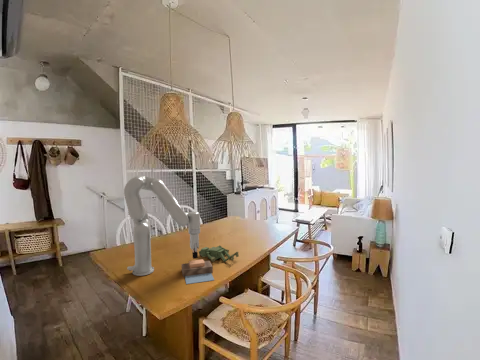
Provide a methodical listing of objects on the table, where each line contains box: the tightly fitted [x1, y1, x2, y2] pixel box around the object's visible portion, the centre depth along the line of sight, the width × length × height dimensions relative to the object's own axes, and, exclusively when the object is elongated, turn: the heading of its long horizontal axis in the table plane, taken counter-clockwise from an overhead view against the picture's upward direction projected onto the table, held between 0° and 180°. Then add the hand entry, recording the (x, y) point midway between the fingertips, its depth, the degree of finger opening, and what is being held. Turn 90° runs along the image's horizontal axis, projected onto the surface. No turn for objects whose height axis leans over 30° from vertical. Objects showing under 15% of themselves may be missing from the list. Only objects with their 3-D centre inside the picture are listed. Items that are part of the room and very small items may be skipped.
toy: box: [198, 245, 240, 263], centre depth 182 cm, size 21×8×30 cm
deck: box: [181, 260, 214, 278], centre depth 160 cm, size 18×10×4 cm, turn 107°
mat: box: [184, 273, 215, 285], centre depth 150 cm, size 16×10×1 cm, turn 107°
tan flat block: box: [188, 258, 205, 268], centre depth 160 cm, size 9×6×2 cm, turn 107°
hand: (195, 257), depth 169 cm, fingers closed
